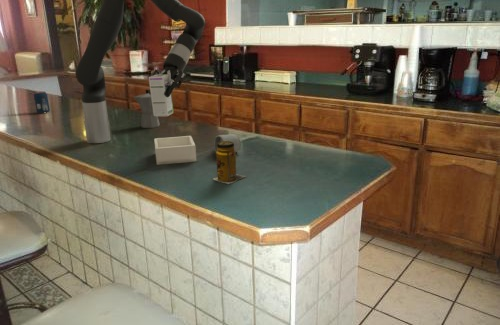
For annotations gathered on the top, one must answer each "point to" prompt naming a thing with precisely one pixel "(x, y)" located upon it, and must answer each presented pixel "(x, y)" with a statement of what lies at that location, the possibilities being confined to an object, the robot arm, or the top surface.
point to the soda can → (41, 102)
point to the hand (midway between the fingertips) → (158, 95)
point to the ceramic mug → (230, 138)
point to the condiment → (226, 163)
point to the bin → (175, 150)
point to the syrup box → (160, 95)
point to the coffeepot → (147, 111)
